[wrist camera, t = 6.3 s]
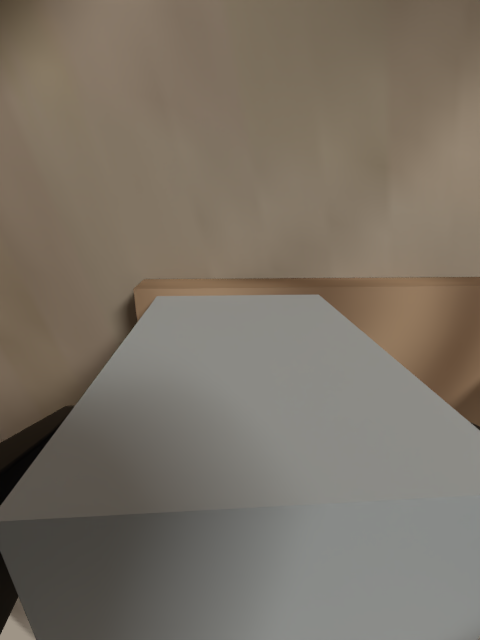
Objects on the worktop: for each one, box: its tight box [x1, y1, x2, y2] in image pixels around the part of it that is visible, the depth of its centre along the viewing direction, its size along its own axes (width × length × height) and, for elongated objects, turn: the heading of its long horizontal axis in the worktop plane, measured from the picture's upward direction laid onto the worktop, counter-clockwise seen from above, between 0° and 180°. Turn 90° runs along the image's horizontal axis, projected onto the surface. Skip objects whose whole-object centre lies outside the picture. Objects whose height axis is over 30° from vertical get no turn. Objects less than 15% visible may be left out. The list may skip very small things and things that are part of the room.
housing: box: [0, 295, 480, 640], centre depth 8 cm, size 6×6×8 cm
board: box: [133, 277, 480, 426], centre depth 14 cm, size 23×16×3 cm
